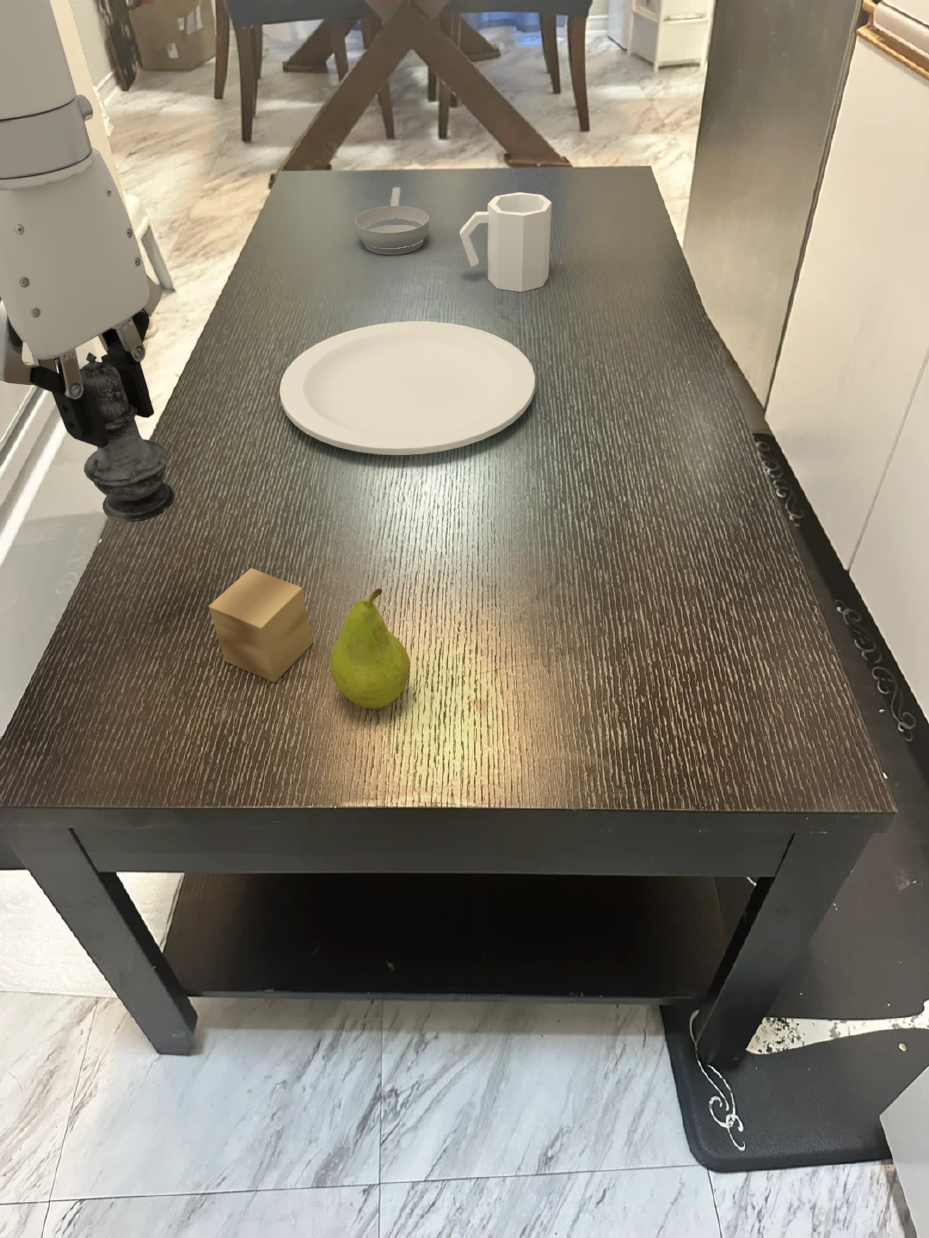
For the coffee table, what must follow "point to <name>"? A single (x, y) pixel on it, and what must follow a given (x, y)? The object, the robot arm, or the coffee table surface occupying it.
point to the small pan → (392, 227)
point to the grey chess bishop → (124, 453)
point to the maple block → (262, 624)
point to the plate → (407, 388)
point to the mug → (514, 240)
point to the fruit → (369, 658)
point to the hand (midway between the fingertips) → (113, 424)
